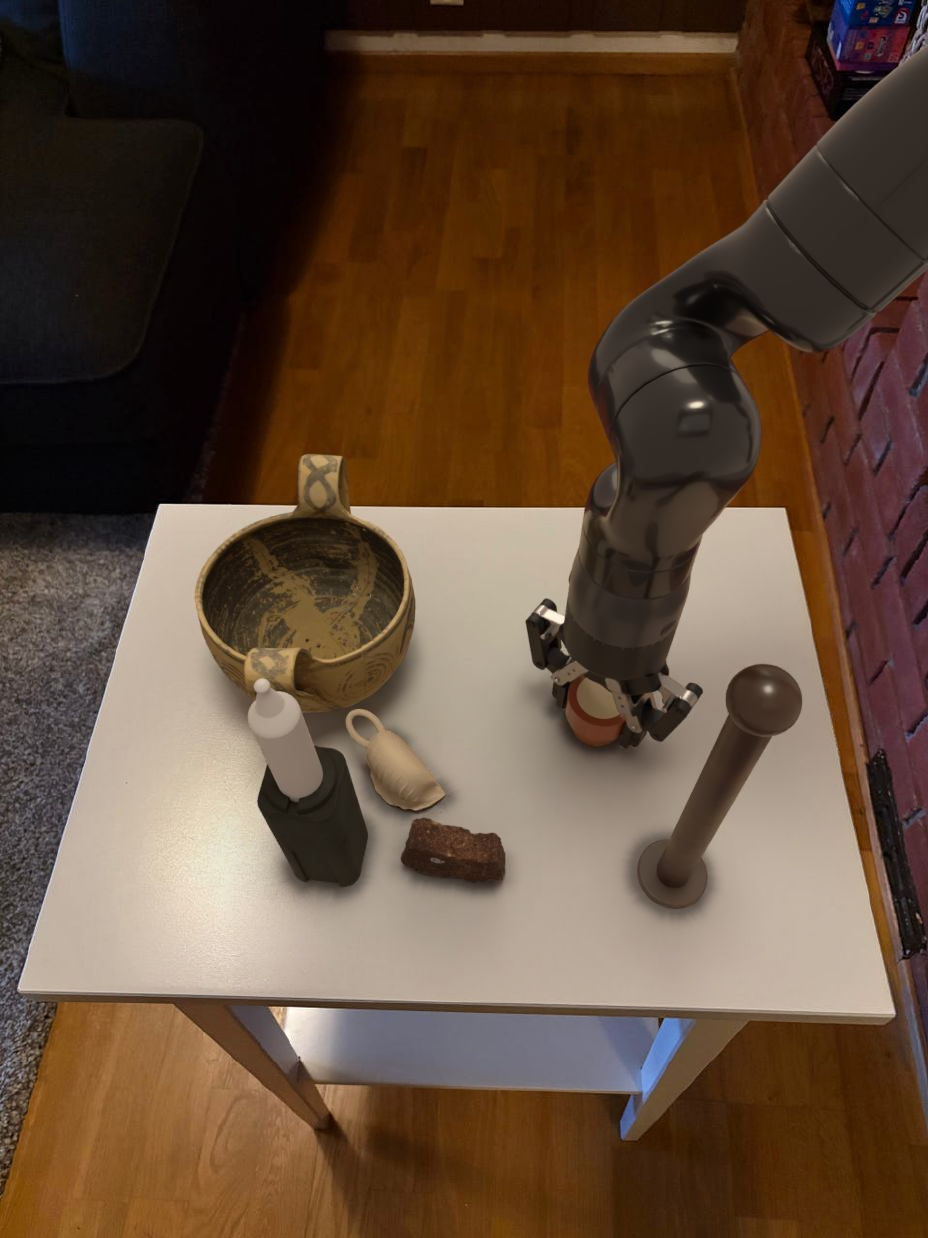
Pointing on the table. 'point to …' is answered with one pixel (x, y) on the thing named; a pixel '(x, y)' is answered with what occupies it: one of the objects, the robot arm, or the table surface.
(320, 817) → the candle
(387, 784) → the decorative ornament
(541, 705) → the table surface
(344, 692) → the ceramic bowl
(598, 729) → the terracotta bowl
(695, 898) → the walnut post
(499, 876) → the stone
